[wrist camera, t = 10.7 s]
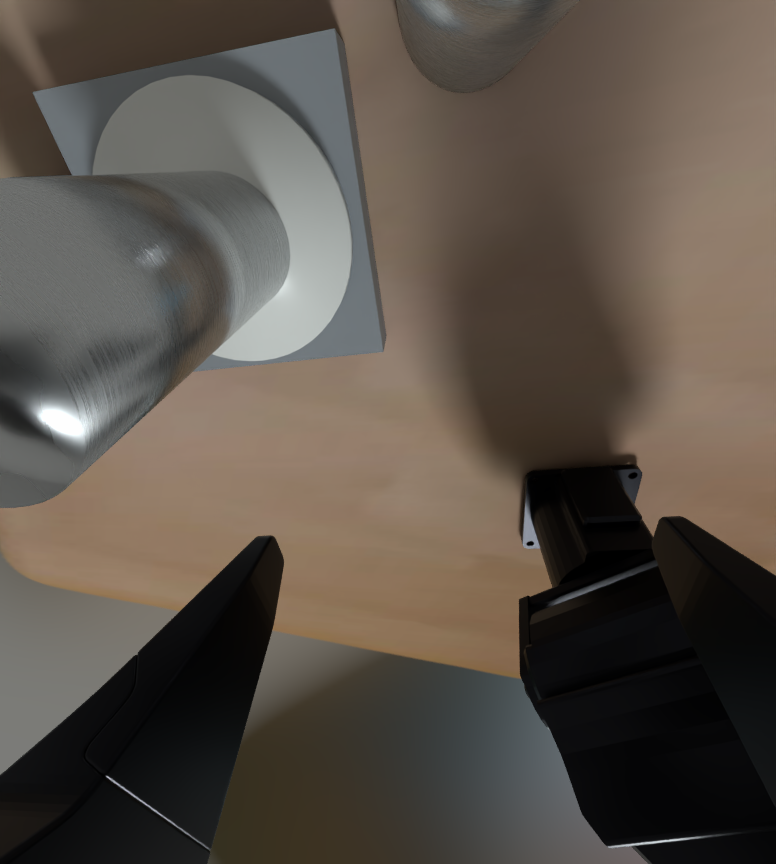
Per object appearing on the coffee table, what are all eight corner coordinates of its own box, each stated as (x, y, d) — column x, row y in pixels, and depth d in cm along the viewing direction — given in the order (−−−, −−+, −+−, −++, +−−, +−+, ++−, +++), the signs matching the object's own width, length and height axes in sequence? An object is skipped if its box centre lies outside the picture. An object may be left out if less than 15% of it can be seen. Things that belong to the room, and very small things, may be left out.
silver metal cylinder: (274, 327, 18) (84, 541, 8) (158, 280, 17) (-221, 451, 7) (305, 206, 15) (75, 295, 5) (169, 144, 14) (-426, 102, 4)
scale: (386, 336, 20) (378, 378, 16) (136, 363, 22) (74, 407, 18) (344, 43, 15) (316, -2, 11) (7, 113, 16) (-127, 97, 12)
